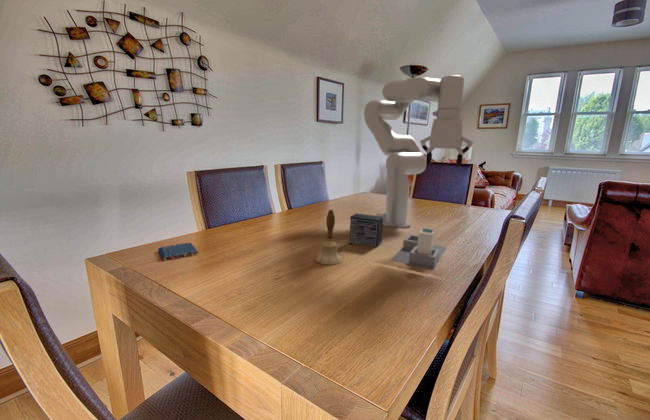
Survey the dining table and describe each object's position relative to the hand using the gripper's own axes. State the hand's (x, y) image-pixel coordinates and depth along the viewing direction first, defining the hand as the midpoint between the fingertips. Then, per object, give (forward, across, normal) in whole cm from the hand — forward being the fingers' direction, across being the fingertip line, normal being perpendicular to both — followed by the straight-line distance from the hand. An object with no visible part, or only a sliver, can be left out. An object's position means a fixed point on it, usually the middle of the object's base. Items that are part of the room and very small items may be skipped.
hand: (443, 165), depth 111 cm
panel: (+28, -2, -18) cm, 34 cm away
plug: (+28, +1, -23) cm, 36 cm away
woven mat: (+29, -69, -58) cm, 95 cm away
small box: (+29, -21, -17) cm, 39 cm away
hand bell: (+29, -25, -37) cm, 53 cm away
